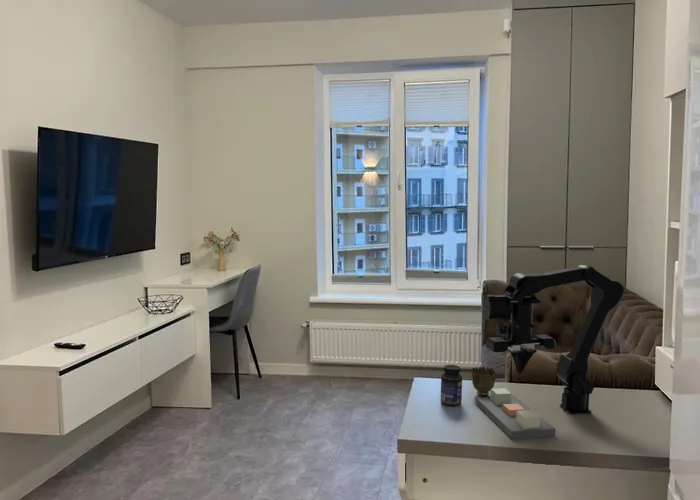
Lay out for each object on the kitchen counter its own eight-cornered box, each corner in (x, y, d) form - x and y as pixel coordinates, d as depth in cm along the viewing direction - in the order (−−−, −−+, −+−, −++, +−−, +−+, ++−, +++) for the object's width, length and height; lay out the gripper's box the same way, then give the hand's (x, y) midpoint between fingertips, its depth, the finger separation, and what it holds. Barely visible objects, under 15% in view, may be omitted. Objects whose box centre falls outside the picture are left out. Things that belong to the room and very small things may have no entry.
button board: (514, 402, 180) (514, 395, 180) (555, 436, 157) (555, 428, 157) (476, 404, 178) (476, 397, 178) (511, 439, 155) (511, 431, 155)
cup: (497, 399, 182) (498, 374, 181) (473, 399, 182) (474, 373, 181) (492, 391, 190) (493, 366, 189) (468, 390, 190) (469, 365, 189)
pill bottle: (461, 408, 175) (462, 370, 174) (439, 406, 177) (440, 369, 175) (461, 400, 181) (462, 364, 180) (440, 398, 183) (442, 363, 181)
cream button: (531, 422, 162) (532, 409, 161) (539, 429, 157) (540, 416, 157) (515, 423, 161) (516, 410, 160) (523, 430, 157) (524, 417, 156)
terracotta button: (517, 415, 170) (517, 403, 170) (524, 421, 166) (524, 409, 165) (502, 416, 169) (502, 404, 169) (509, 422, 165) (509, 410, 165)
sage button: (504, 399, 178) (504, 388, 178) (510, 404, 174) (511, 393, 174) (490, 400, 177) (490, 388, 177) (496, 405, 173) (496, 394, 173)
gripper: (537, 311, 180) (535, 362, 182) (478, 314, 176) (477, 366, 178) (557, 319, 169) (555, 374, 171) (495, 322, 165) (493, 378, 167)
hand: (519, 372), depth 172 cm, fingers closed
